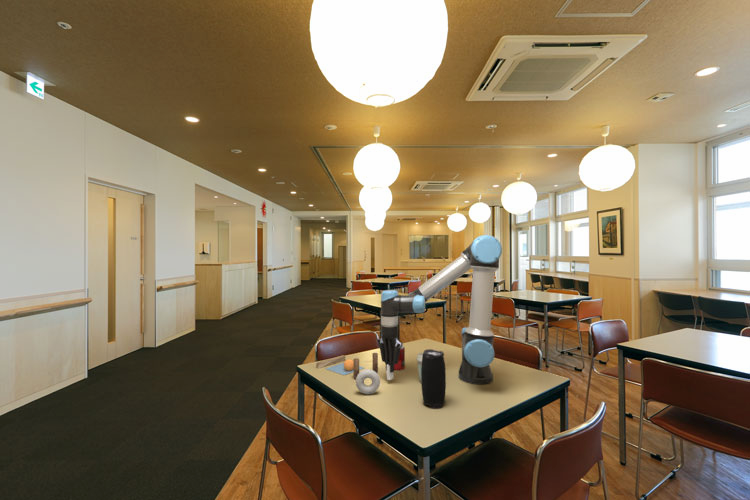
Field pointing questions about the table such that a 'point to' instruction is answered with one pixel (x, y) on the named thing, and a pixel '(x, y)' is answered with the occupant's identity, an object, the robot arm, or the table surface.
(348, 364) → the ball
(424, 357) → the portable speaker
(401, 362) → the canned food
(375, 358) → the right post
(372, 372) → the donut
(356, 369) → the left post
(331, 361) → the stopper rail
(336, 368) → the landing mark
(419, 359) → the coffee cup
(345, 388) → the table surface
